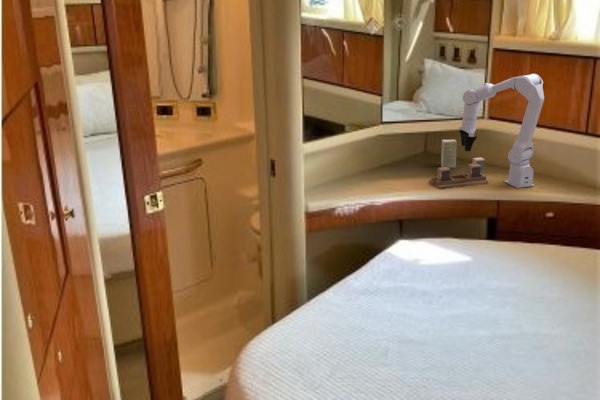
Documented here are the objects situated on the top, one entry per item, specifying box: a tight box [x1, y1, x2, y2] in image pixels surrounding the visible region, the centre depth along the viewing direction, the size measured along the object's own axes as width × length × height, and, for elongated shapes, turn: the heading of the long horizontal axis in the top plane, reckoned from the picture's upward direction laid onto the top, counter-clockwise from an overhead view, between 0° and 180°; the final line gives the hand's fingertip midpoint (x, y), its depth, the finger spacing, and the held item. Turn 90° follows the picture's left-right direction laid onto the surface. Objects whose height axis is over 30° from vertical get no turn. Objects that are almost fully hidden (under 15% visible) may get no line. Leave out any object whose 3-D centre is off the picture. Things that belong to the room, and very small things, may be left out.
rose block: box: [471, 157, 486, 174], centre depth 256 cm, size 3×4×6 cm
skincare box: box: [440, 139, 458, 169], centre depth 264 cm, size 6×4×12 cm
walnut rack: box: [428, 163, 489, 190], centre depth 242 cm, size 10×22×7 cm, turn 106°
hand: (465, 148), depth 255 cm, fingers open, 7 cm apart
